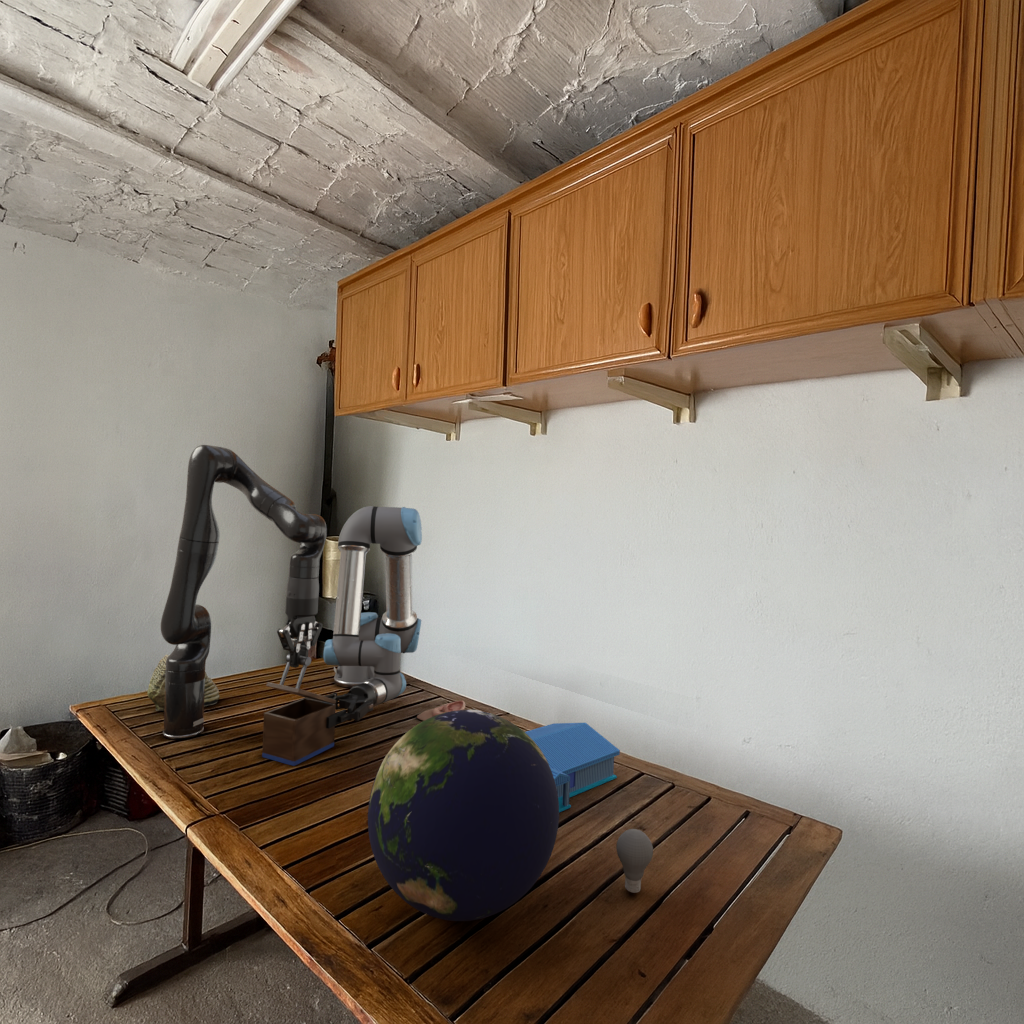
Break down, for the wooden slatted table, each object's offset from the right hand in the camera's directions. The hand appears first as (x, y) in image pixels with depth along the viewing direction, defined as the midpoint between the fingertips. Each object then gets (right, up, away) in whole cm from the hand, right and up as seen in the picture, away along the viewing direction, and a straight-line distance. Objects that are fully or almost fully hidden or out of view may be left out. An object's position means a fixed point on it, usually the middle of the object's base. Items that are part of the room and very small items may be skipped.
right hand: (310, 718), depth 160 cm
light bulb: (+71, -11, -54) cm, 90 cm away
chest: (-2, -7, -3) cm, 8 cm away
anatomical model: (+30, -8, +25) cm, 40 cm away
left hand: (-2, +15, -5) cm, 15 cm away
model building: (+55, -10, -17) cm, 59 cm away
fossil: (-45, -5, +25) cm, 52 cm away
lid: (-1, +7, -3) cm, 8 cm away
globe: (+43, -10, -59) cm, 74 cm away
